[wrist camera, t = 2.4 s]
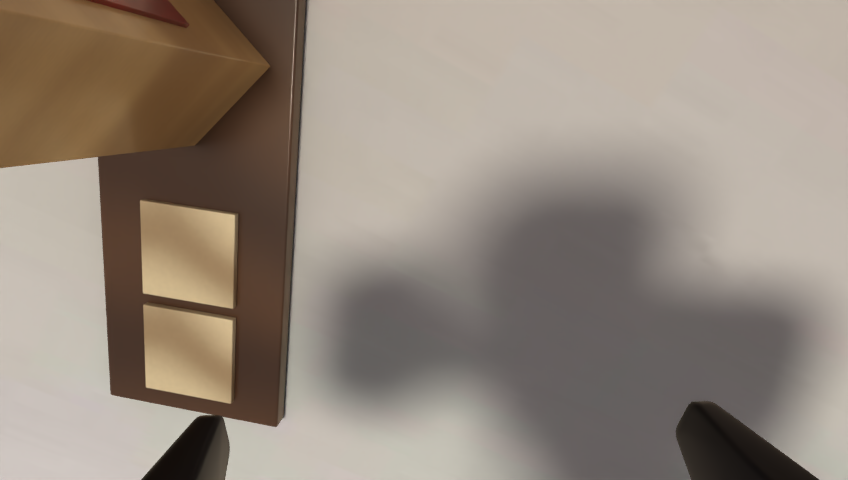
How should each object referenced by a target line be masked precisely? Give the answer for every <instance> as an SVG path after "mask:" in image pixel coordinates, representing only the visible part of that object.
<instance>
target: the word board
mask: <svg viewBox="0 0 848 480" xmlns="http://www.w3.org/2000/svg"><path fill="white" fill-rule="evenodd" d="M214 1H215V2H216V4H217V5H218V6H219V7H220V8H221V9H222V11H223V12H224V13H225V14H226V15H227V16H228V17H229V19H230V20H231V21H232V22H233V23H234V24H235V26H236V27H237V28H238V29H239V30H240V31H241V33H242V34H243V35H244V36H245V37H246V38H247V39H248V41H249V42H250V43H251V44H252V45H253V46H254V48H255V49H256V50H257V51H258V52H259V53H260V54H261V56H262V57H263V58H264V59H265V60H266V61H267V63H268V64H269V65H270V67H269V68H268V69H267V71H266V72H265V73H264V74H263V75H262V76H261V77H260V78H259V79H258V80H257V81H256V82H255V83H254V84H253V85H252V86H251V87H250V88H249V89H248V90H247V91H246V93H245V94H244V95H243V96H242V97H241V98H240V99H239V100H238V101H237V102H236V103H235V104H234V105H233V106H232V107H231V108H230V109H229V110H228V111H227V112H226V113H225V115H224V116H223V117H222V118H221V119H220V120H219V121H218V122H217V123H216V124H215V125H214V126H213V127H212V128H211V129H210V130H209V131H208V132H207V133H206V134H205V136H204V137H203V138H202V139H201V140H200V141H199V142H198V143H197V144H196V145H195V146H187V147H179V148H170V149H161V150H153V151H144V152H135V153H127V154H118V155H109V156H101V157H98V166H99V184H100V203H101V222H102V240H103V259H104V278H105V297H106V315H107V334H108V353H109V371H110V390H111V395H115V396H120V397H125V398H130V399H135V400H140V401H145V402H150V403H156V404H161V405H166V406H171V407H176V408H181V409H186V410H191V411H196V412H202V413H207V414H212V415H220V416H222V417H227V418H232V419H237V420H243V421H248V422H253V423H258V424H263V425H268V426H273V427H277V426H278V424H279V423H280V421H281V420H282V418H283V414H284V395H285V377H286V358H287V340H288V321H289V303H290V284H291V266H292V247H293V228H294V210H295V191H296V173H297V154H298V136H299V117H300V99H301V80H302V62H303V43H304V24H305V6H306V0H214Z"/></svg>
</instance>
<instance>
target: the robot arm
mask: <svg viewBox="0 0 848 480" xmlns="http://www.w3.org/2000/svg"><path fill="white" fill-rule="evenodd" d="M676 437H677V441H678V444H679V447H680V449H681V452H682V455H683V458H684V461H685V463H686V466H687V469H688V472H689V475H690V477H691V480H819V479H818V478H816V477H815V476H813V475H812V474H811V473H809V472H808V471H807V470H805V469H804V468H803V467H801V466H800V465H799V464H797V463H796V462H794V461H793V460H792V459H790V458H789V457H788V456H786V455H785V454H784V453H782V452H781V451H779V450H778V449H777V448H775V447H774V446H773V445H771V444H770V443H769V442H767V441H766V440H764V439H763V438H762V437H760V436H759V435H758V434H756V433H755V432H754V431H752V430H751V429H749V428H748V427H747V426H745V425H744V424H743V423H741V422H740V421H739V420H737V419H736V418H734V417H733V416H732V415H730V414H729V413H728V412H726V411H725V410H724V409H722V408H721V407H719V406H718V405H717V404H715V403H713V402H709V401H699V402H691V403H690V404H689V405H688V406H687V408H686V410H685V412H684V414H683V416H682V418H681V420H680V421H679V423H678V425H677V428H676ZM229 450H230V446H229V440H228V435H227V431H226V427H225V422H224V419H223V417H222V416H220V415H204V416H199V417H197V418H196V419H195V420H194V421H193V422H192V423H191V424H190V425H189V427H188V428H187V429H186V430H185V431H184V432H183V433H182V434H181V436H180V437H179V438H178V439H177V440H176V441H175V442H174V443H173V445H172V446H171V447H170V448H169V449H168V450H167V451H166V452H165V454H164V455H163V456H162V457H161V458H160V459H159V460H158V461H157V463H156V464H155V465H154V466H153V467H152V468H151V469H150V470H149V472H148V473H147V474H146V475H145V476H144V477H143V478H142V479H141V480H225V476H226V470H227V465H228V459H229Z"/></svg>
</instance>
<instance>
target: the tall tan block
mask: <svg viewBox="0 0 848 480" xmlns="http://www.w3.org/2000/svg"><path fill="white" fill-rule="evenodd" d="M269 67H270V65H269V64H268V63H267V61H266V60H265V59H264V58H263V57H262V56H261V54H260V53H259V52H258V51H257V50H256V49H255V48H254V46H253V45H252V44H251V43H250V42H249V41H248V39H247V38H246V37H245V36H244V35H243V34H242V33H241V31H240V30H239V29H238V28H237V27H236V26H235V24H234V23H233V22H232V21H231V20H230V19H229V17H228V16H227V15H226V14H225V13H224V12H223V11H222V9H221V8H220V7H219V6H218V5H217V4H216V2H215V1H214V0H0V168H5V167H14V166H22V165H31V164H40V163H48V162H57V161H66V160H74V159H83V158H92V157H101V156H109V155H118V154H127V153H135V152H144V151H153V150H161V149H170V148H179V147H187V146H195V145H196V144H197V143H198V142H199V141H200V140H201V139H202V138H203V137H204V136H205V134H206V133H207V132H208V131H209V130H210V129H211V128H212V127H213V126H214V125H215V124H216V123H217V122H218V121H219V120H220V119H221V118H222V117H223V116H224V115H225V113H226V112H227V111H228V110H229V109H230V108H231V107H232V106H233V105H234V104H235V103H236V102H237V101H238V100H239V99H240V98H241V97H242V96H243V95H244V94H245V93H246V91H247V90H248V89H249V88H250V87H251V86H252V85H253V84H254V83H255V82H256V81H257V80H258V79H259V78H260V77H261V76H262V75H263V74H264V73H265V72H266V71H267V69H268V68H269Z"/></svg>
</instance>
